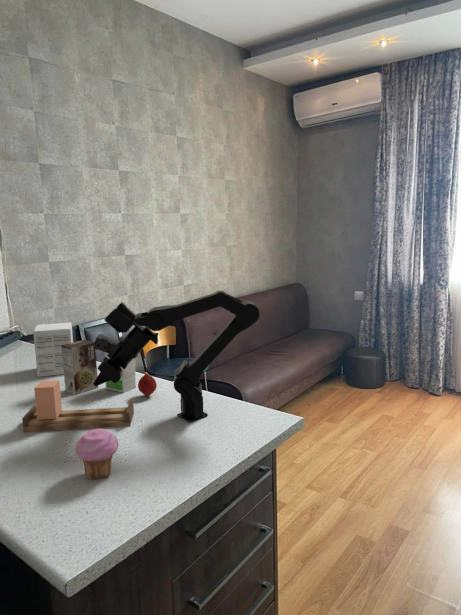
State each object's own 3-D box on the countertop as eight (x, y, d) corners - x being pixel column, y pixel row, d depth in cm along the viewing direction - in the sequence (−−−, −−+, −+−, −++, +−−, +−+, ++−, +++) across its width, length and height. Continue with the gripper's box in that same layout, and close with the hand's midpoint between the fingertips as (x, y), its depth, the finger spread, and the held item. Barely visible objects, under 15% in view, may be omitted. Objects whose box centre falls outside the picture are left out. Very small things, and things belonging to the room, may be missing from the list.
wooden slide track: (133, 413, 132) (133, 400, 131) (130, 426, 123) (129, 412, 122) (34, 418, 129) (33, 405, 128) (23, 432, 120) (22, 418, 120)
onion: (158, 393, 148) (157, 369, 146) (154, 399, 142) (153, 375, 141) (141, 392, 148) (140, 369, 147) (136, 399, 143) (134, 375, 141)
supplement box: (40, 367, 179) (36, 324, 177) (75, 364, 183) (71, 321, 180) (36, 377, 167) (32, 331, 164) (74, 373, 171) (70, 328, 168)
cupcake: (76, 488, 93) (73, 442, 92) (79, 467, 101) (75, 425, 100) (120, 481, 95) (118, 436, 94) (119, 461, 104) (116, 420, 102)
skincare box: (105, 389, 152) (102, 344, 150) (118, 383, 158) (116, 340, 155) (124, 393, 148) (121, 347, 146) (137, 387, 154) (135, 342, 152)
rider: (62, 413, 128) (59, 380, 126) (56, 421, 122) (53, 386, 121) (44, 414, 127) (40, 381, 126) (37, 422, 122) (34, 387, 120)
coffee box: (88, 383, 158) (84, 339, 156) (99, 387, 154) (95, 341, 152) (64, 391, 151) (60, 344, 149) (75, 395, 147) (71, 347, 145)
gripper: (115, 318, 131) (79, 356, 132) (103, 332, 113) (62, 376, 114) (144, 343, 133) (108, 381, 134) (137, 361, 115) (96, 404, 116)
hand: (94, 384), depth 124 cm, fingers closed
